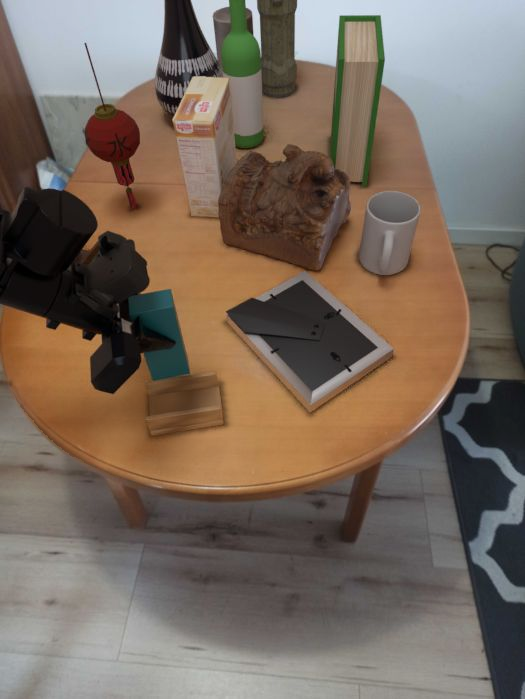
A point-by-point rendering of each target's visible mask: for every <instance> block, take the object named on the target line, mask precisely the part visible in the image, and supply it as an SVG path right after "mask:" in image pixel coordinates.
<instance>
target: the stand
mask: <svg viewBox="0 0 525 699" xmlns="http://www.w3.org/2000/svg"><path fill="white" fill-rule="evenodd" d="M218 378H219V377H218V373H217V370H212V371H205V372H200V373H199V372H198V373H192V374H191V373H190V374H187V375H182V376H177V377H172V378H167V379H162V380H156V381H153V380H145V381H144V387H145V389H146V392H147V394H148V397H149V399H148V401H149V402H148V403H149V415H146V416H144V421H145V423H146V425H147V428H148V430H149V433H150V435H151V436H157V435H163V434H172V433H178V432H184V431H190V430H197V429H204V428H210V427H216V426H222V425H223V426H224V425H225V423H224V415H223V414H224V413H223V406H222V397H221V388H220V382H219V379H218Z"/></svg>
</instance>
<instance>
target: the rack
mask: <svg viewBox="0 0 525 699" xmlns="http://www.w3.org/2000/svg"><path fill="white" fill-rule="evenodd" d="M98 252H99V245H98V240H97V241H96V242H95V243H94V244H93V246H92V247H91V248H90V249H89V250H88V249H84V248H83V249H82V250H81V251H80V253H79V254H78V256H77V257H76V258H75V260H74V261H73V263H76V262H79V263H81V264H84V265H89V263H90V262H91V261H92V260H93V258H94V257H95V255H96V254H97V253H98Z"/></svg>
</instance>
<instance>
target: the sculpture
mask: <svg viewBox="0 0 525 699" xmlns="http://www.w3.org/2000/svg"><path fill="white" fill-rule="evenodd" d="M282 154H283V156H284V157H285V158H286V159H285V160H284V161H283V160H275V161H273V162H270V161H269V159H267V158H266V156H264V155H263V154H262V153H260V152H257V151H252V150H249V151H248V152H246V153H245V154H244V155H243V156H241V157H240V158H239V160H237V164H236V165H235V166H234V167H233V168H232V170H231V171H230V173H229V175H228V176H227V178H226V179H225V181H224V185H223V188H222V191H221V193H220V196H219V199H218V205H219V210H218V215H219V218H218V219H219V224H220V227H219V229H220V233H221V236H222V241H223V242H224V243H225V244H227V245H228V246H230V247H234V248H239V249H243V250H246V251H250V252H252V253H257V254H261V255H265V256H267V257H270V258H273V259H277V260H281V261H284V262H287V263H290V264H293V265H296V266H298V267H302V268H305V269H308V270H311V271H318V270H320V269H322V267H323V265H324V261H325V258H326V256H327V253H328V252H329V250H330V248H331V247H332V243H333V241H334V239H335V238H336V237H337V235H338V232H339V230H340V227H342V225H344V224H346V222H347V220H348V218H349V216H350V215H351V211H352V210H351V209H352V205H351V201H350V193H351V190H352V189H351V186H352V184H351V182H350V179H349V177H348V176H347V175H346V174H345V172H342V171H340V170H339V169H334V166H333V162H332V160H331V159H330V156H329V155H328V154H325V153H324V152H320V151H315V150H303V149H301V148H300V147H299V146H298V145H295V144H293V143H292V144H291V143H289V144H286V146H284V148H283V149H282Z"/></svg>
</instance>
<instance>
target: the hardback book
mask: <svg viewBox="0 0 525 699" xmlns="http://www.w3.org/2000/svg"><path fill="white" fill-rule="evenodd" d="M382 26H383V25H382V16H381V14H380V15H379V14H378V15H377V14H376V15H375V14H371V15H370V14H367V15H366V14H365V15H362V14H359V15H354V14H353V15H352V14H351V15H350V14H349V15H339V18H338V31H337V32H338V33H337V46H336V59H335V60H336V61H335V74H334V86H333V87H334V89H333V101H332V102H333V103H332V115H331V116H332V117H331V129H330V148H329V150H330V152H329V158H330V159H331V160H332V162H333V166H334V169H339V170H340V171H342V172H345V174H346V175H347V176H348V177H349V179H350V183H361V188H367V187H368V180H369V172H370V166H371V158H372V152H373V144H374V138H375V132H376V124H377V117H378V110H379V103H380V97H381V89H382V83H383V77H384V68H385V63H386V62H385V61H386V56H385V47H384V46H385V45H384V36H383V27H382Z"/></svg>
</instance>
